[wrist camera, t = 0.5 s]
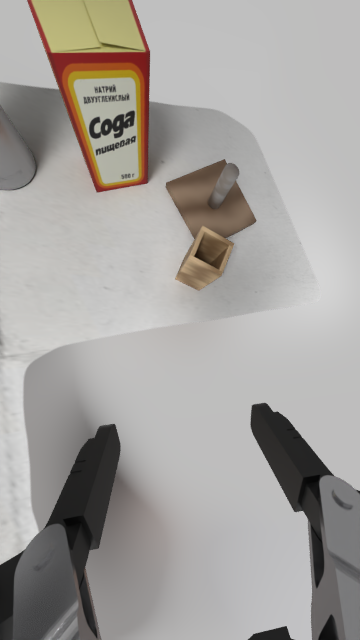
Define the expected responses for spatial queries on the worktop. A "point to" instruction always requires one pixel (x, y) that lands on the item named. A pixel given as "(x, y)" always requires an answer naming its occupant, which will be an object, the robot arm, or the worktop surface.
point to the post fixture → (212, 200)
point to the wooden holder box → (204, 259)
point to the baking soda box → (101, 83)
